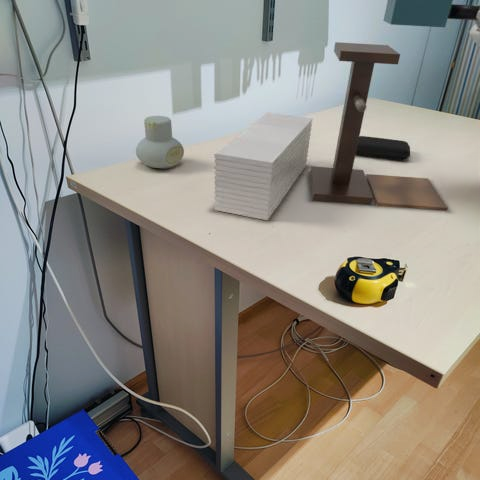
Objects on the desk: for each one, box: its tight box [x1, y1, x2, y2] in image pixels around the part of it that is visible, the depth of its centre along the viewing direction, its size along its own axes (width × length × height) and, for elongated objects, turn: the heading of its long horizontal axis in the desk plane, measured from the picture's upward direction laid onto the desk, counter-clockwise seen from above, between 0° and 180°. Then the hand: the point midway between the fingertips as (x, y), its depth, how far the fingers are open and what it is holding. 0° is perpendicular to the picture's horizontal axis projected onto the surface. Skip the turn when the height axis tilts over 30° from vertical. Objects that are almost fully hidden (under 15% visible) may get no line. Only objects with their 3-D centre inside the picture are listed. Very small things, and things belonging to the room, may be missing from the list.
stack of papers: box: [214, 112, 313, 221], centre depth 88 cm, size 32×11×11 cm, turn 160°
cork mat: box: [365, 173, 448, 212], centre depth 92 cm, size 14×16×1 cm
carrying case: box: [356, 135, 411, 161], centre depth 111 cm, size 11×3×15 cm
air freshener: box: [135, 115, 185, 169], centre depth 96 cm, size 11×8×10 cm
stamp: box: [383, 0, 480, 28], centre depth 71 cm, size 18×7×5 cm, turn 85°
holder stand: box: [309, 41, 401, 206], centre depth 84 cm, size 12×18×26 cm, turn 175°
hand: (475, 9), depth 71 cm, fingers closed on stamp
